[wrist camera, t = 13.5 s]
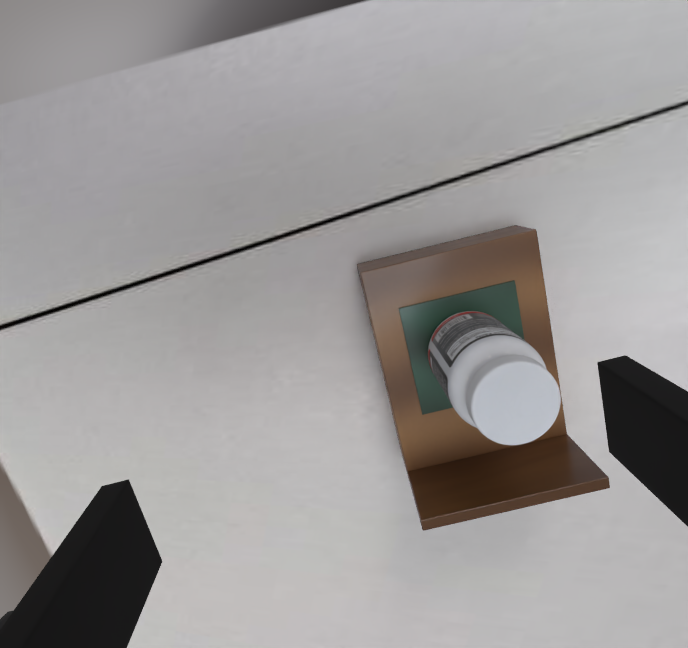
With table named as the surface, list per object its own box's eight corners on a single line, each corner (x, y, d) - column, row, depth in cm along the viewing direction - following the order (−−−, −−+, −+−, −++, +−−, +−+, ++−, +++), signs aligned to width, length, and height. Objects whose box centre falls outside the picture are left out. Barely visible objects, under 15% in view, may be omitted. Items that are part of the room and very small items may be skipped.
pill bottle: (498, 392, 38) (556, 462, 28) (419, 383, 38) (451, 450, 28) (516, 314, 37) (582, 360, 27) (434, 303, 36) (472, 346, 27)
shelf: (356, 264, 40) (365, 289, 30) (516, 224, 39) (577, 237, 30) (401, 454, 44) (423, 531, 34) (547, 420, 43) (610, 488, 34)
